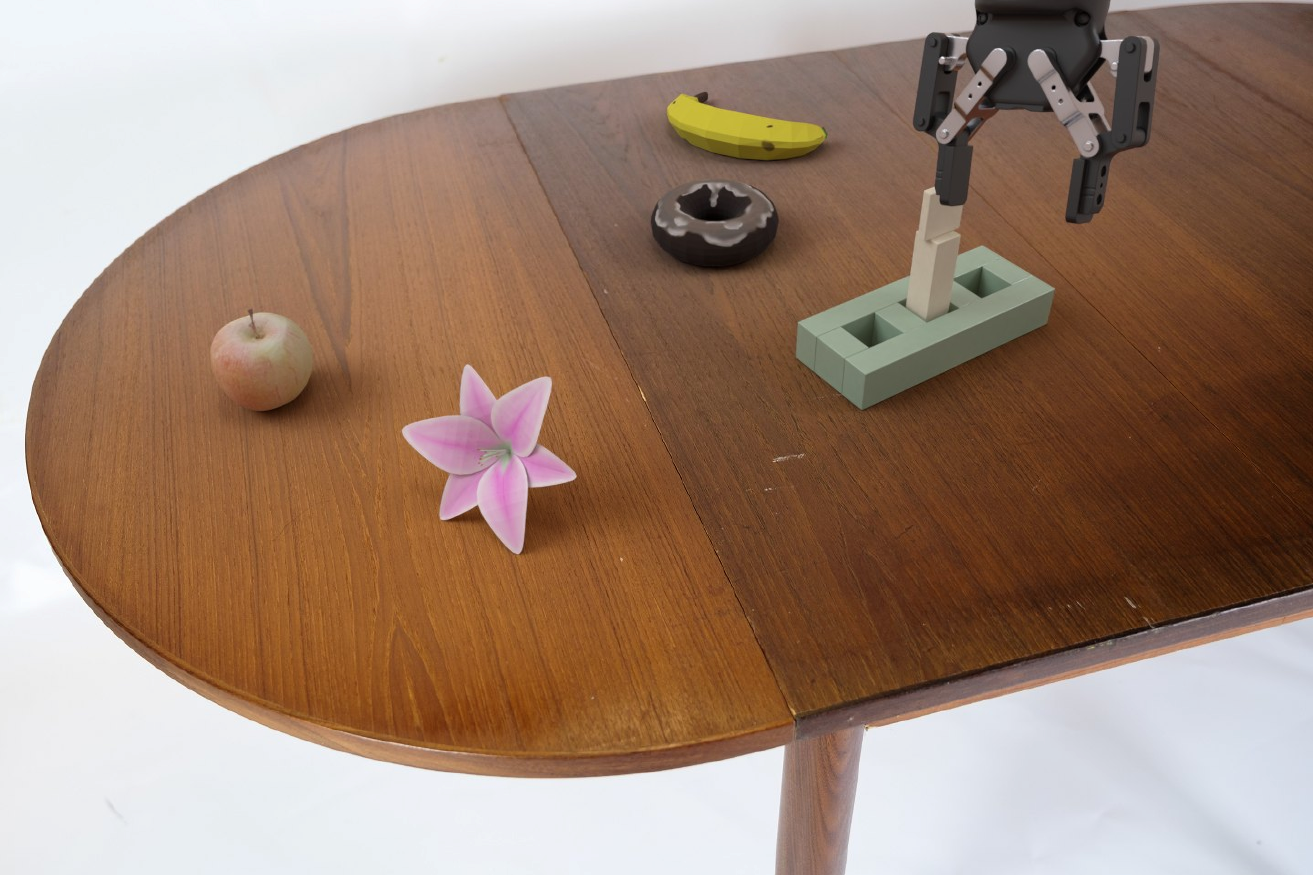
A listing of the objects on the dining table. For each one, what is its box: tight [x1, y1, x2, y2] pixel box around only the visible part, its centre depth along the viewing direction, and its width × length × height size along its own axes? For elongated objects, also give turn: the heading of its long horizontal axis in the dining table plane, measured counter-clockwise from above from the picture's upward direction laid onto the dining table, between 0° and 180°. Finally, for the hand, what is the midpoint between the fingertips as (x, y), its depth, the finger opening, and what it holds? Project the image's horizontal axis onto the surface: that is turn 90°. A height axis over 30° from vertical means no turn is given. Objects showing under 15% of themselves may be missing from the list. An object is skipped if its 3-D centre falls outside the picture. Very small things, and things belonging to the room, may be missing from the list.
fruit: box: [209, 308, 314, 412], centre depth 87 cm, size 8×7×8 cm
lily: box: [401, 363, 578, 555], centre depth 78 cm, size 12×12×10 cm
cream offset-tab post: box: [906, 186, 964, 323], centre depth 88 cm, size 2×4×14 cm, turn 122°
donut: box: [650, 178, 780, 267], centre depth 104 cm, size 12×12×4 cm
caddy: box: [795, 244, 1056, 411], centre depth 91 cm, size 8×20×4 cm, turn 122°
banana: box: [666, 91, 828, 161], centre depth 121 cm, size 5×17×15 cm
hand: (1013, 213), depth 70 cm, fingers open, 8 cm apart
